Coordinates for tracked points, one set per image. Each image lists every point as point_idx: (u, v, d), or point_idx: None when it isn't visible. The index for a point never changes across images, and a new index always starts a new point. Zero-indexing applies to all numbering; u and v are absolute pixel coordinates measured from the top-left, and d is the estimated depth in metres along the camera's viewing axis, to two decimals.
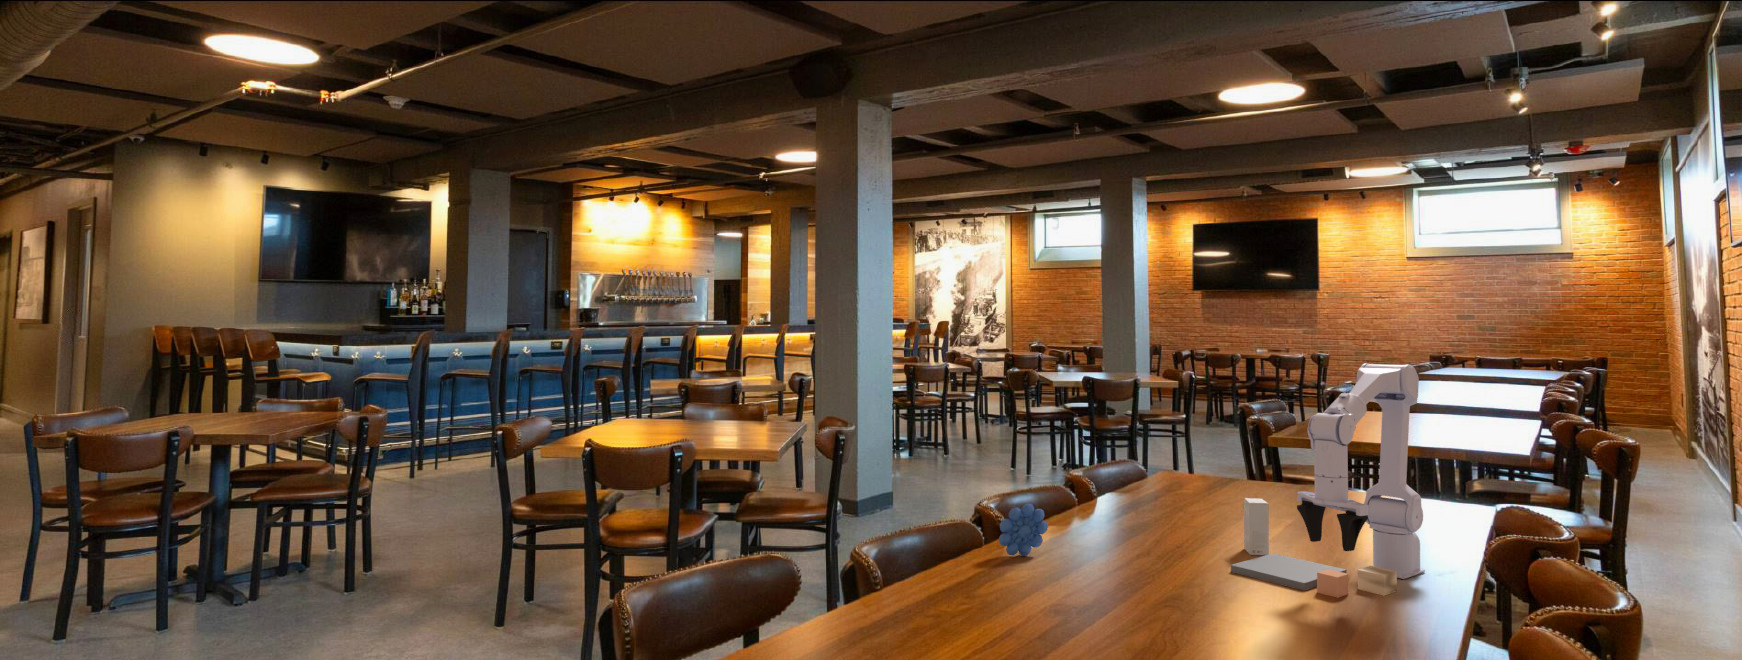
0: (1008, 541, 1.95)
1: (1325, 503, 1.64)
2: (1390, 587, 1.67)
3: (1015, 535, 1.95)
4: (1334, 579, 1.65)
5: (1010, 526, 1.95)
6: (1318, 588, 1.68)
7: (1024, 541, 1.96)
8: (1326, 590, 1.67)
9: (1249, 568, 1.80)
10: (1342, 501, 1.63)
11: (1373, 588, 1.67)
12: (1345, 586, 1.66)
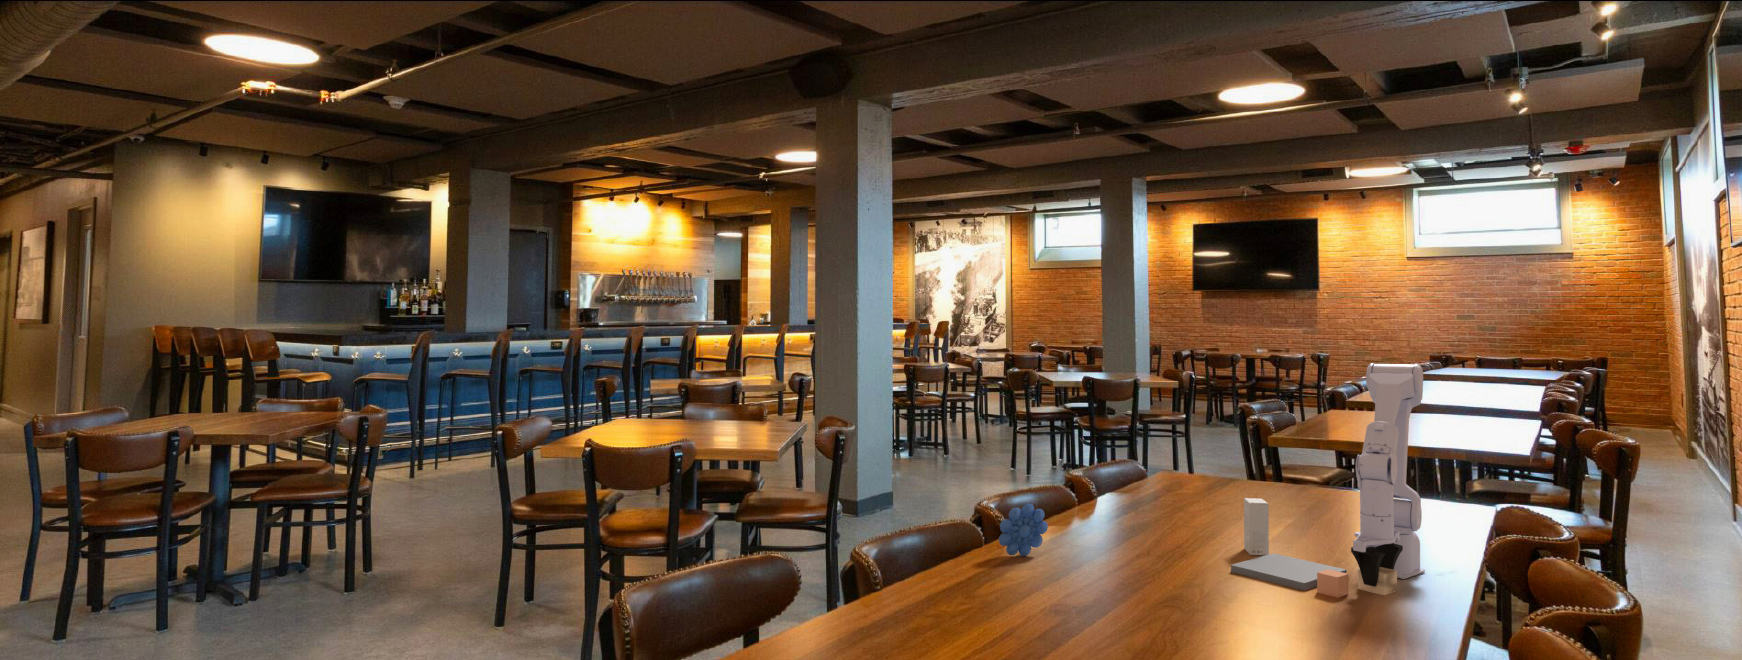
0: (1008, 541, 1.95)
1: None
2: (1390, 587, 1.67)
3: (1015, 535, 1.95)
4: (1334, 579, 1.65)
5: (1010, 526, 1.95)
6: (1318, 588, 1.68)
7: (1024, 541, 1.96)
8: (1326, 590, 1.67)
9: (1249, 568, 1.80)
10: (1366, 538, 1.68)
11: (1373, 587, 1.67)
12: (1345, 586, 1.66)
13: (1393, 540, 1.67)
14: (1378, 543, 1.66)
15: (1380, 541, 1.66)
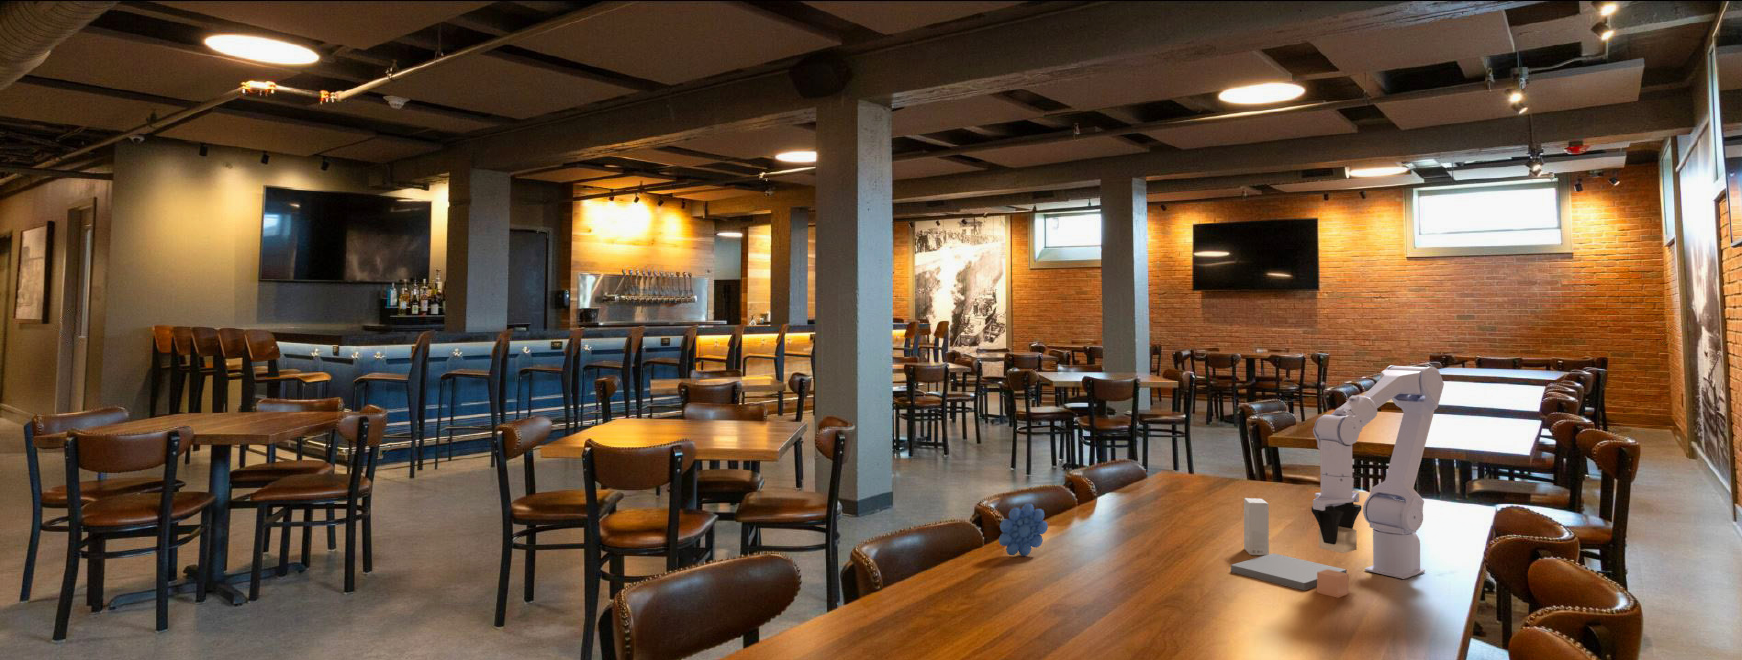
0: (1008, 541, 1.95)
1: None
2: (1349, 545, 1.72)
3: (1015, 535, 1.95)
4: (1334, 579, 1.65)
5: (1010, 526, 1.95)
6: (1318, 588, 1.68)
7: (1024, 541, 1.96)
8: (1326, 590, 1.67)
9: (1249, 568, 1.80)
10: (1326, 497, 1.73)
11: (1334, 546, 1.72)
12: (1345, 586, 1.66)
13: (1352, 499, 1.71)
14: (1337, 502, 1.70)
15: (1339, 500, 1.70)
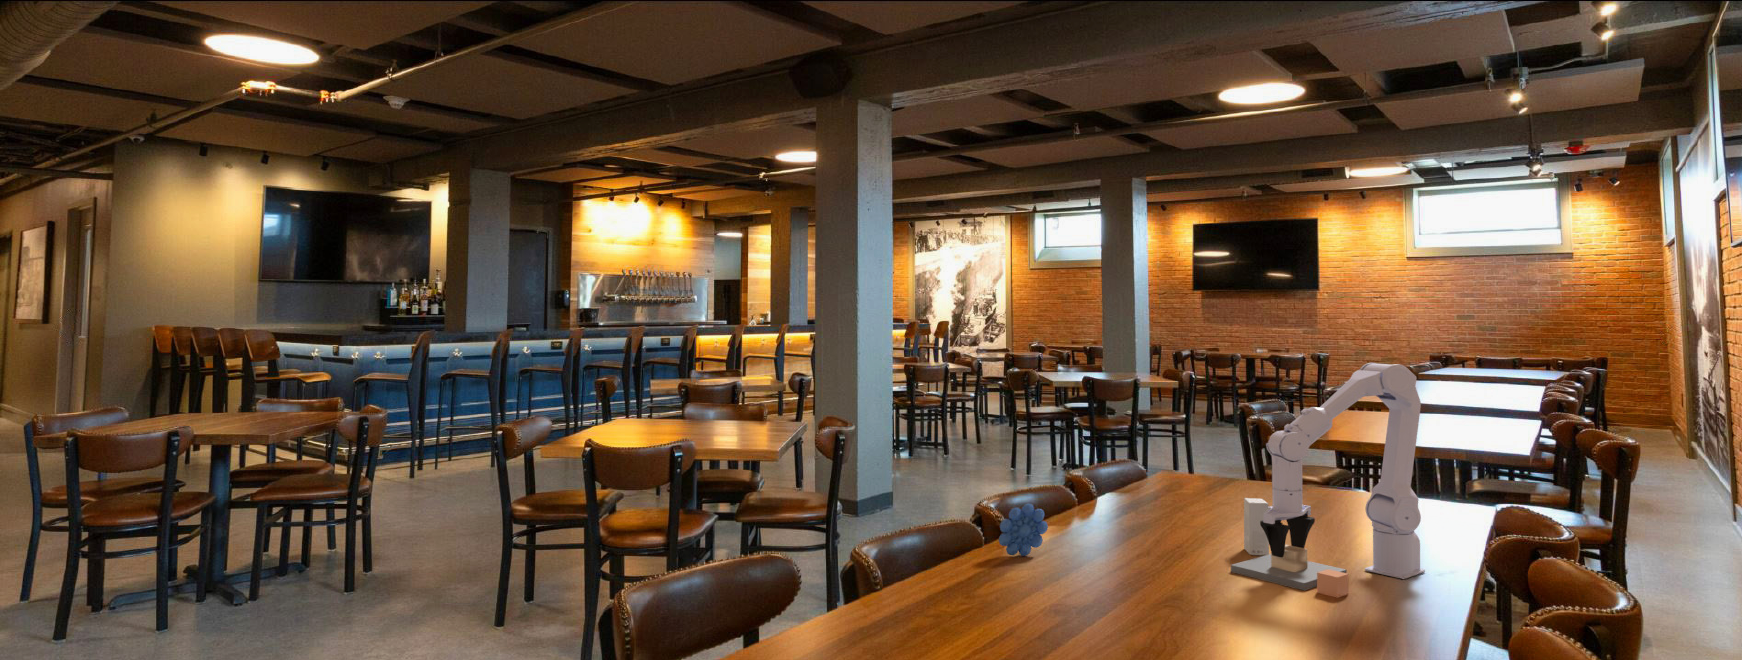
0: (1008, 541, 1.95)
1: None
2: (1300, 564, 1.78)
3: (1015, 535, 1.95)
4: (1334, 579, 1.65)
5: (1010, 526, 1.95)
6: (1318, 588, 1.68)
7: (1024, 541, 1.96)
8: (1326, 590, 1.67)
9: (1249, 568, 1.80)
10: (1277, 511, 1.79)
11: (1285, 565, 1.78)
12: (1345, 586, 1.66)
13: (1301, 513, 1.78)
14: (1287, 516, 1.77)
15: (1289, 514, 1.77)
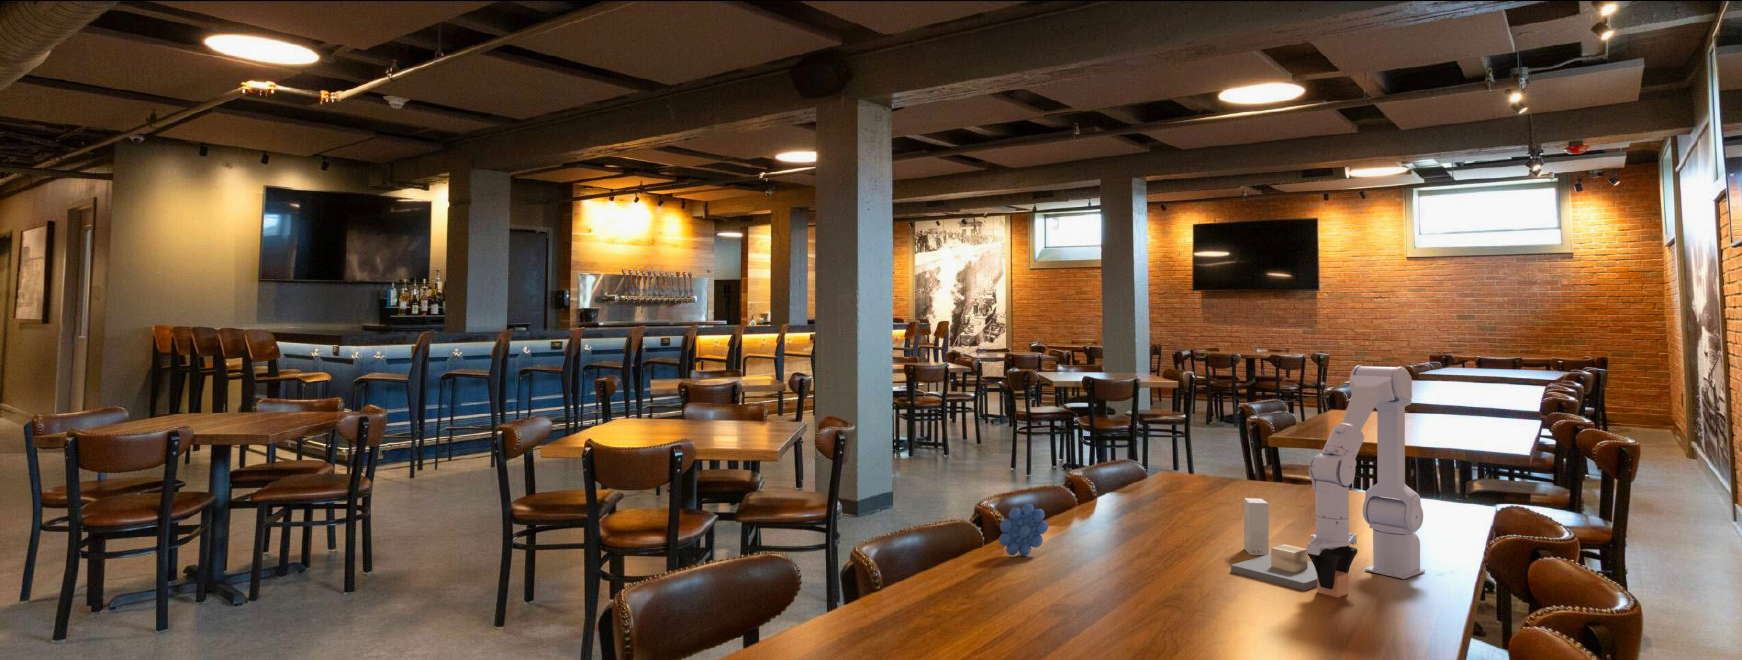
0: (1008, 541, 1.95)
1: None
2: (1300, 564, 1.78)
3: (1015, 535, 1.95)
4: None
5: (1010, 526, 1.95)
6: (1318, 587, 1.68)
7: (1024, 541, 1.96)
8: (1326, 589, 1.67)
9: (1249, 568, 1.80)
10: (1322, 540, 1.66)
11: (1285, 565, 1.78)
12: (1345, 586, 1.66)
13: (1348, 543, 1.65)
14: (1333, 546, 1.64)
15: (1335, 544, 1.64)
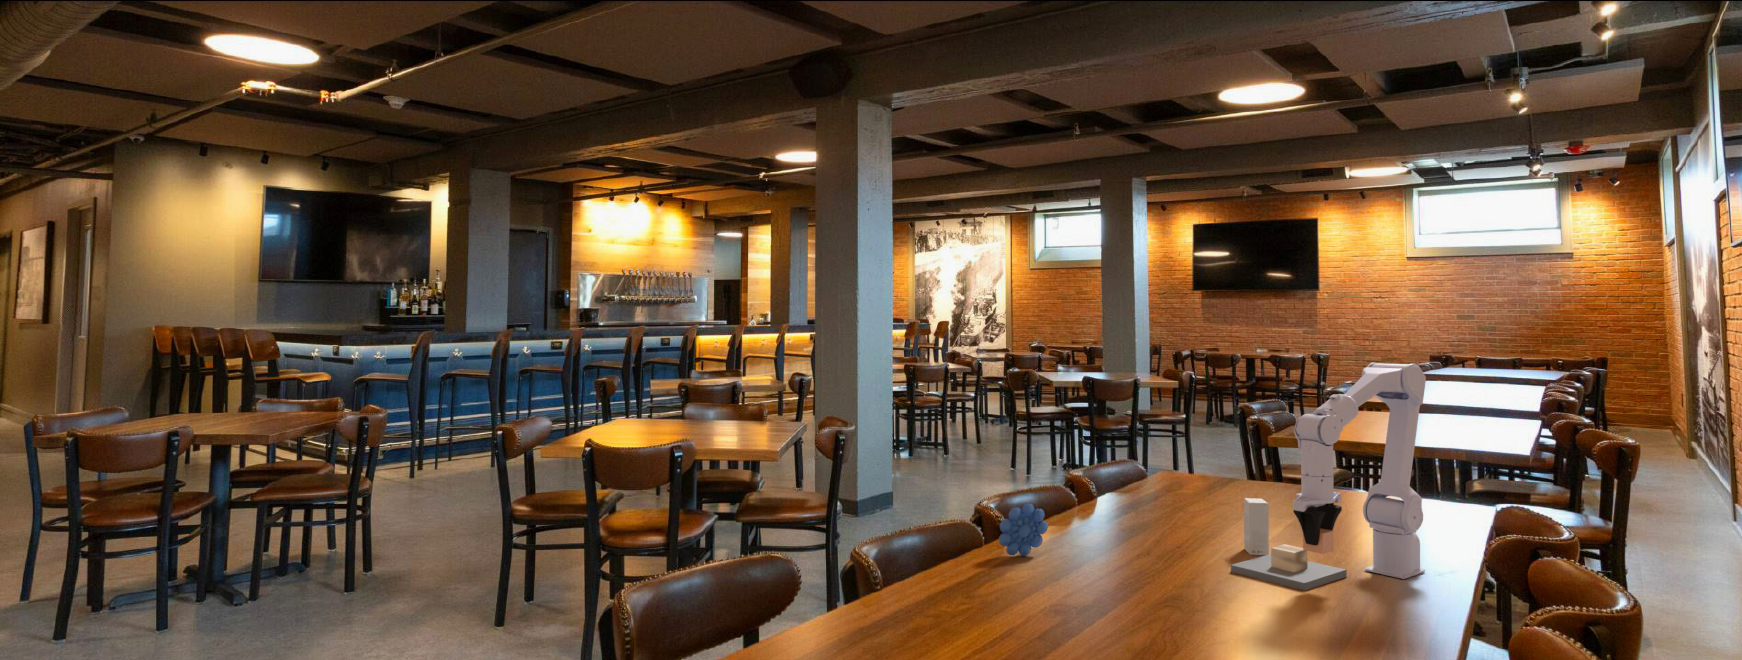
0: (1008, 541, 1.95)
1: None
2: (1300, 564, 1.78)
3: (1015, 535, 1.95)
4: None
5: (1010, 526, 1.95)
6: (1304, 545, 1.72)
7: (1024, 541, 1.96)
8: (1312, 546, 1.70)
9: (1249, 568, 1.80)
10: (1307, 498, 1.70)
11: (1285, 565, 1.78)
12: (1330, 543, 1.70)
13: (1333, 500, 1.69)
14: (1318, 503, 1.68)
15: (1320, 501, 1.68)
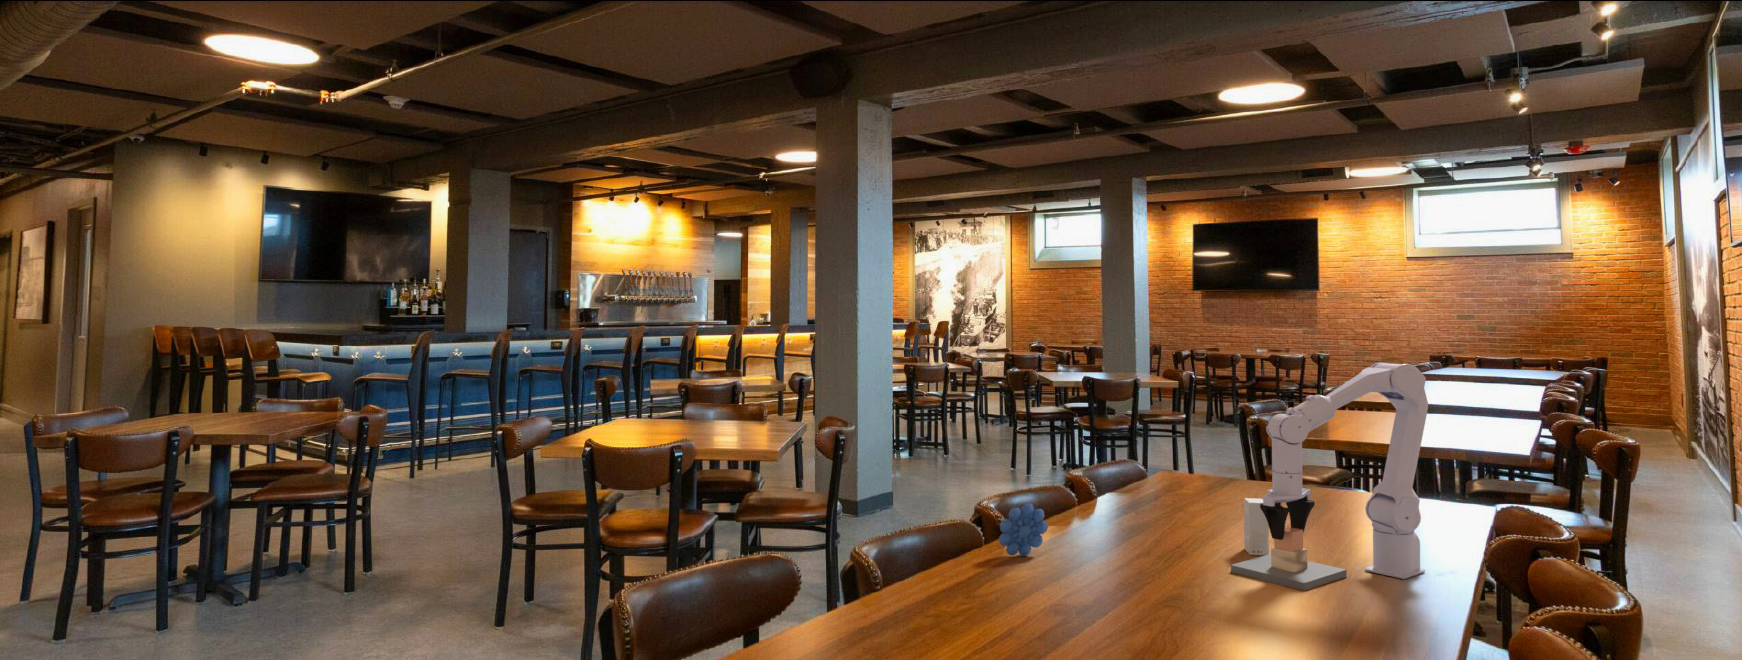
0: (1008, 541, 1.95)
1: None
2: (1300, 564, 1.78)
3: (1015, 535, 1.95)
4: (1289, 534, 1.78)
5: (1010, 526, 1.95)
6: (1275, 543, 1.80)
7: (1024, 541, 1.96)
8: (1282, 545, 1.79)
9: (1249, 568, 1.80)
10: (1277, 494, 1.79)
11: (1285, 565, 1.78)
12: (1300, 541, 1.79)
13: (1301, 496, 1.78)
14: (1287, 498, 1.77)
15: (1288, 496, 1.77)
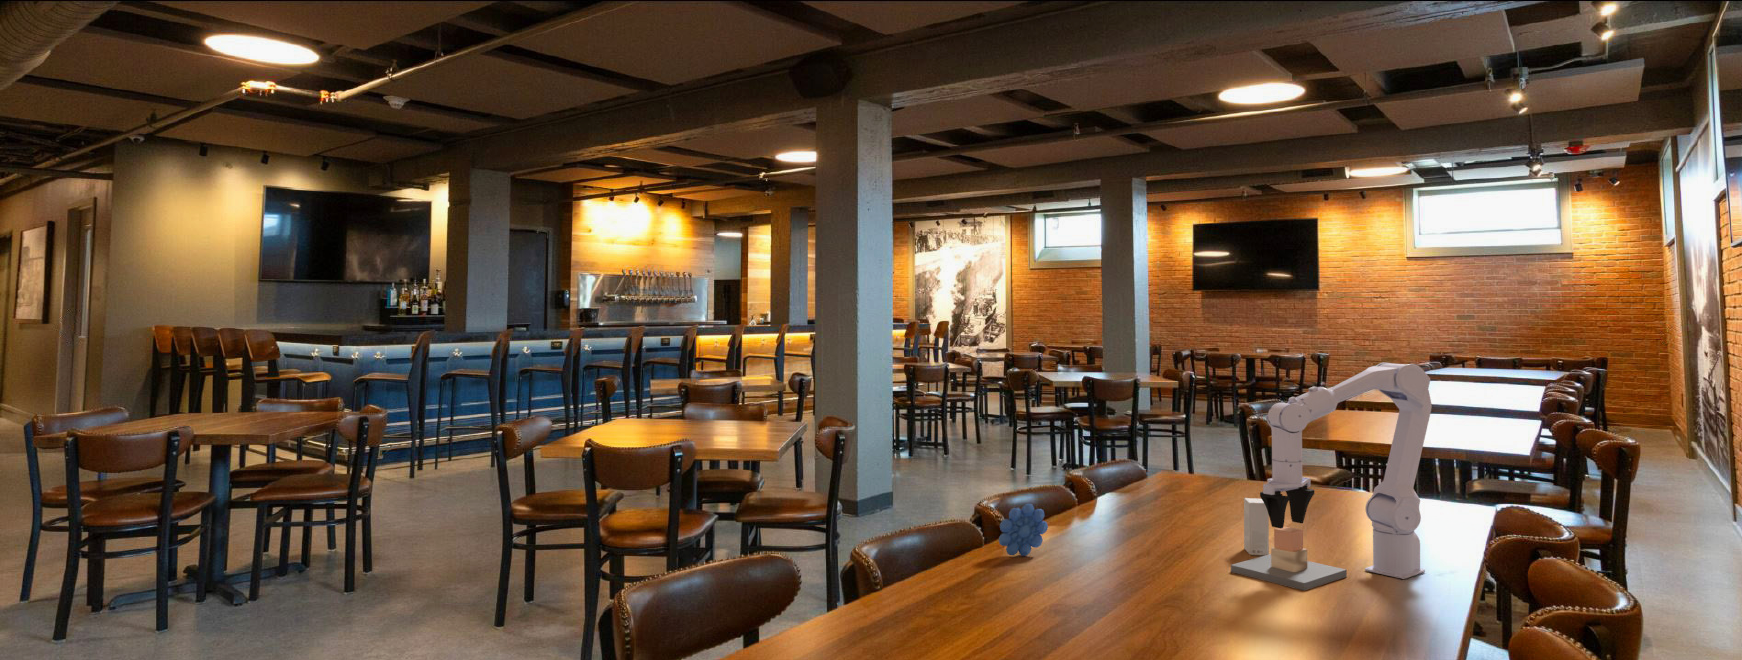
0: (1008, 541, 1.95)
1: None
2: (1300, 564, 1.78)
3: (1015, 535, 1.95)
4: (1289, 534, 1.78)
5: (1010, 526, 1.95)
6: (1275, 543, 1.80)
7: (1024, 541, 1.96)
8: (1282, 545, 1.79)
9: (1249, 568, 1.80)
10: (1277, 482, 1.79)
11: (1285, 565, 1.78)
12: (1300, 541, 1.79)
13: (1301, 484, 1.78)
14: (1286, 486, 1.77)
15: (1288, 485, 1.77)
